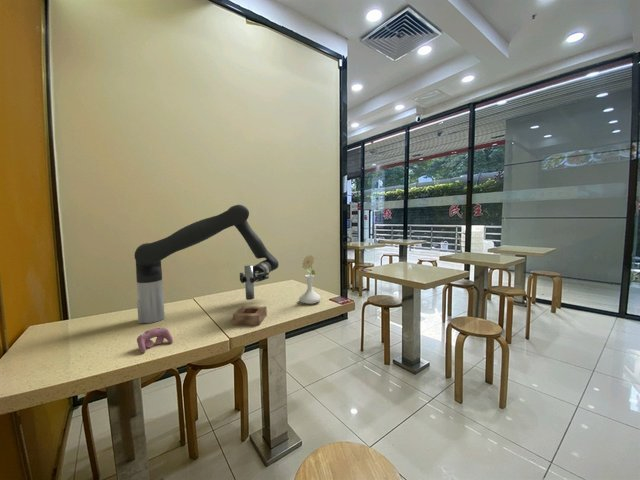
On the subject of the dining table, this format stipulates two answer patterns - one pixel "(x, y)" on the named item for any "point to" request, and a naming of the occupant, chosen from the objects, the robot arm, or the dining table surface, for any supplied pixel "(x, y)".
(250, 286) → the metal rod
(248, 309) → the square wooden ashtray
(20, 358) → the dining table surface
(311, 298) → the flower in vase
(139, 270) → the robot arm
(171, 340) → the pink curved piece
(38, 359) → the dining table surface
